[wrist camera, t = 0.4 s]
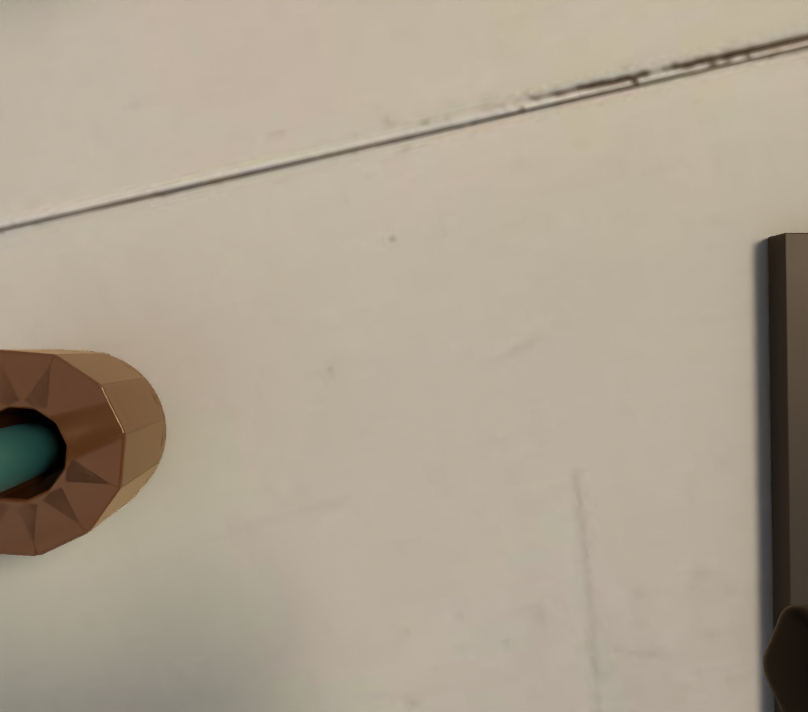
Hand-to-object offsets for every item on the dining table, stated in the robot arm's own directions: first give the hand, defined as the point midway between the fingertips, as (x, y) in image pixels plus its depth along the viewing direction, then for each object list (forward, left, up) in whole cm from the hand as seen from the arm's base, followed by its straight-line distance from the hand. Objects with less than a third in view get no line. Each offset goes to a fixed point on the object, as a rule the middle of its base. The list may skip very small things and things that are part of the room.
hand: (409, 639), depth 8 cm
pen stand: (+4, +7, -15) cm, 17 cm away
